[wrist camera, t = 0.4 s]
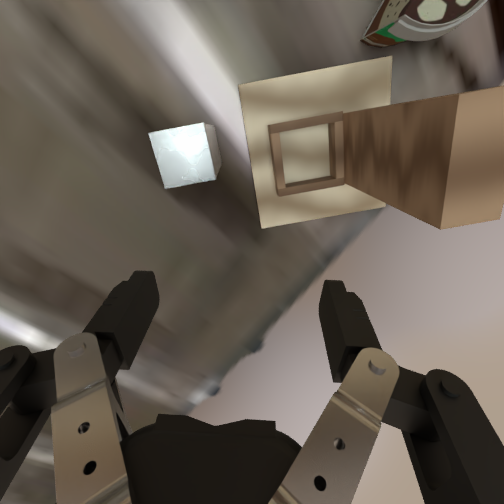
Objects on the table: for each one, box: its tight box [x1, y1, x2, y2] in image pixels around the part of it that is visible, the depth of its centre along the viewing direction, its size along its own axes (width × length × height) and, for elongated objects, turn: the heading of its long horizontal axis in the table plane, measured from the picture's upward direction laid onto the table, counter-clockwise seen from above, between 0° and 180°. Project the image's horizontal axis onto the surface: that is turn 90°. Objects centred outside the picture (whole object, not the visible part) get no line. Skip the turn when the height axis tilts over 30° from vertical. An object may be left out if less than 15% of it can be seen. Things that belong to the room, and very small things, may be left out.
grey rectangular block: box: [148, 123, 222, 189], centre depth 29 cm, size 5×5×13 cm
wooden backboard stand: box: [238, 56, 504, 230], centre depth 26 cm, size 18×18×21 cm
